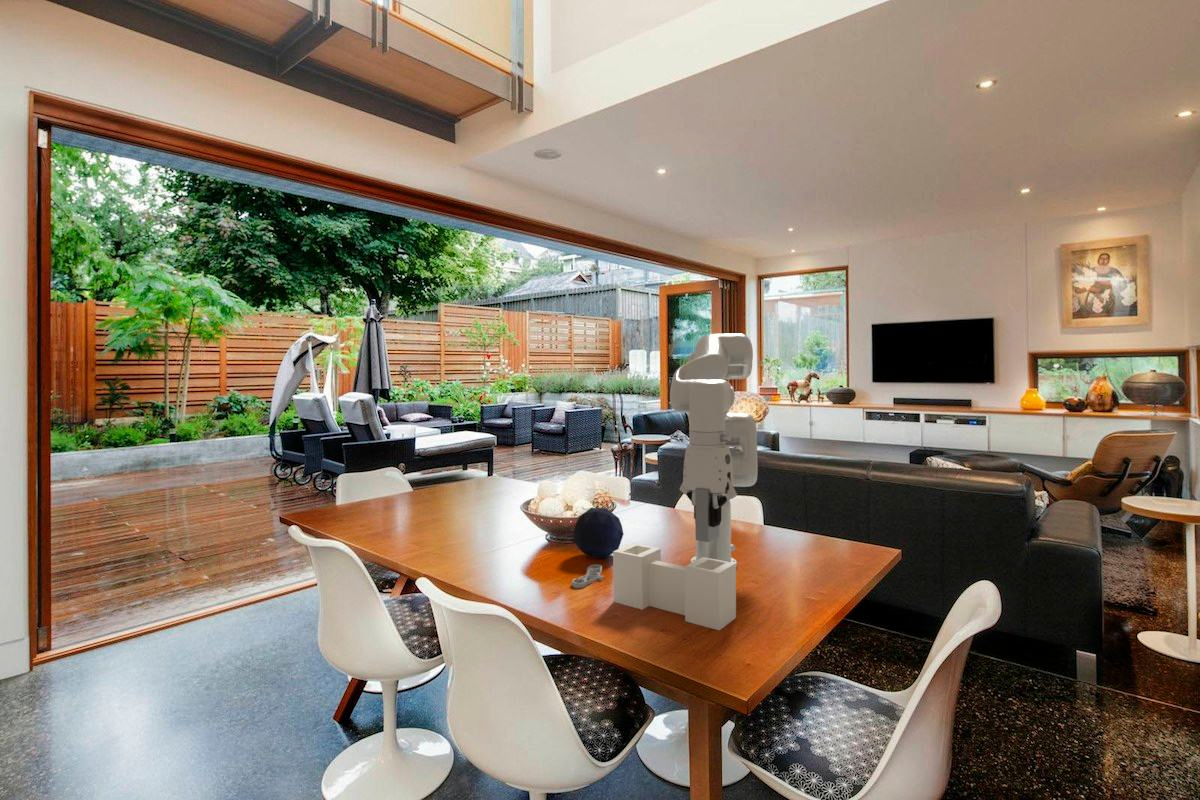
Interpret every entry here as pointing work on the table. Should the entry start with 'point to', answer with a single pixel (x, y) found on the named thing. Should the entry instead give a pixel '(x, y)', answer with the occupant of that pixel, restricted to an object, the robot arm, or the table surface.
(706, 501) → the gray rectangular block
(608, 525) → the decorative orb
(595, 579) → the bracket
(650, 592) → the double socket connector
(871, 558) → the table surface
